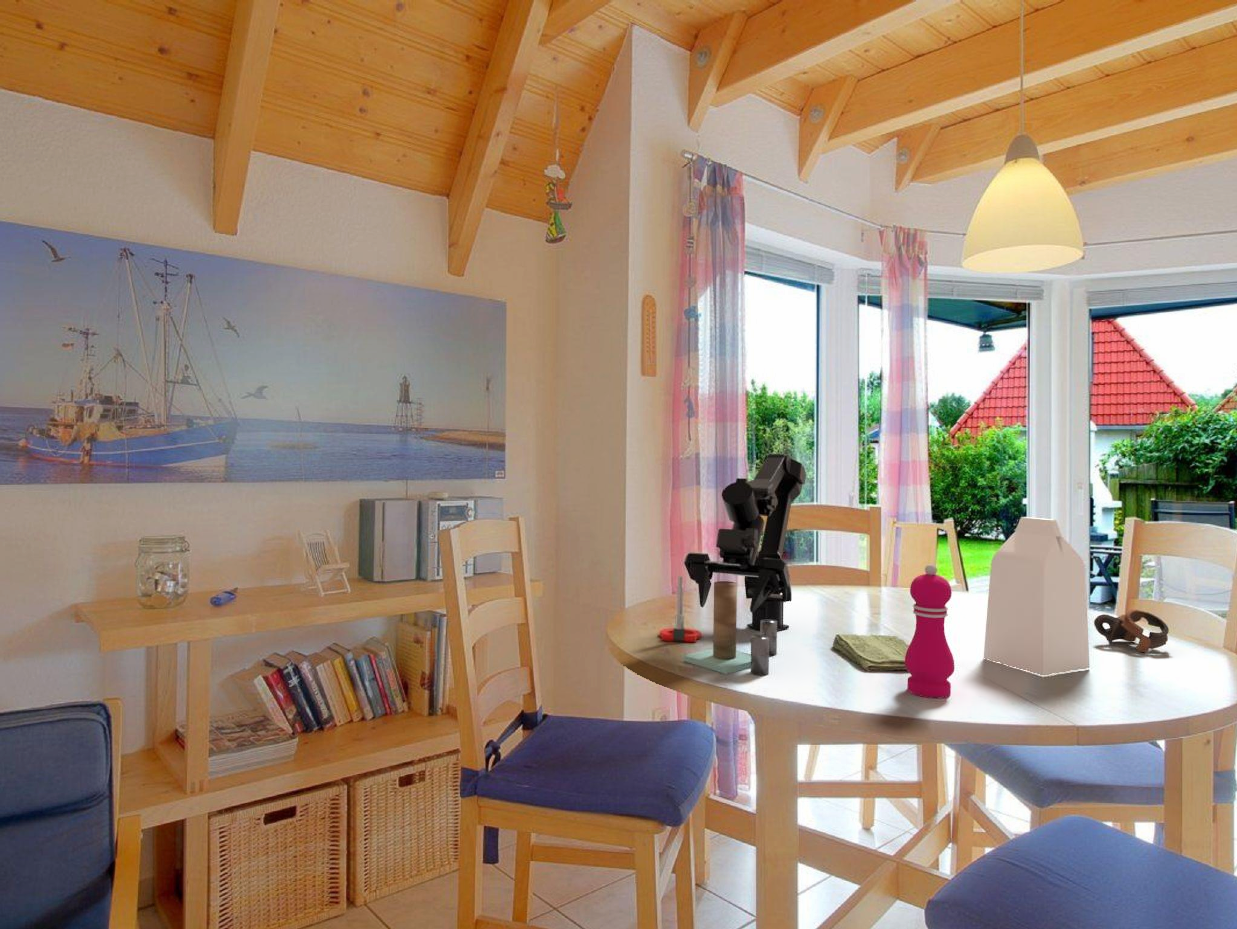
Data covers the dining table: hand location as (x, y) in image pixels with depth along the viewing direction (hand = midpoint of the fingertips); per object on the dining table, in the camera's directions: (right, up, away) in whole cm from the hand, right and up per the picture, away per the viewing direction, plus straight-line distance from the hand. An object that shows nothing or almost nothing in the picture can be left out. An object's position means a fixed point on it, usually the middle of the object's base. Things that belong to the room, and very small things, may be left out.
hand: (726, 608), depth 135 cm
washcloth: (+29, -10, +4) cm, 31 cm away
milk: (+55, -10, 0) cm, 56 cm away
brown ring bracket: (+81, -10, +13) cm, 82 cm away
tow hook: (-7, -9, +18) cm, 21 cm away
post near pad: (+5, -10, -7) cm, 13 cm away
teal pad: (0, -9, -1) cm, 9 cm away
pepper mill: (+29, -10, -16) cm, 35 cm away
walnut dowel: (0, -8, 0) cm, 8 cm away
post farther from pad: (+9, -9, +6) cm, 14 cm away
